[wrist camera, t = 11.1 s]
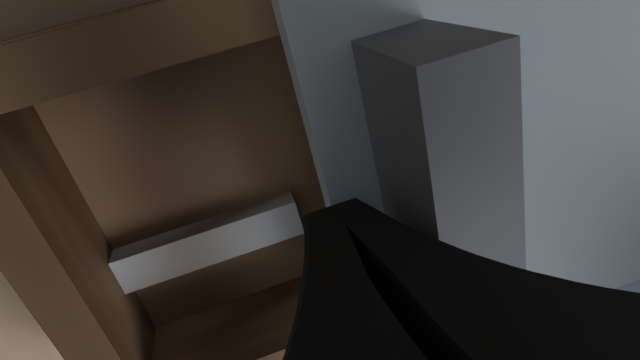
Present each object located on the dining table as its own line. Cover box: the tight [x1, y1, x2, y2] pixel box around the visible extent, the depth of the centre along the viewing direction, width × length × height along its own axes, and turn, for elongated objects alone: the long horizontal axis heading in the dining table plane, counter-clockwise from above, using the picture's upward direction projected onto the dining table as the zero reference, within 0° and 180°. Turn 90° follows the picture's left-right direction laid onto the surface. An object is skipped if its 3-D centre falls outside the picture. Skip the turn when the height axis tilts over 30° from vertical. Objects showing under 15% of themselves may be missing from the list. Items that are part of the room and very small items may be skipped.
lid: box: [271, 0, 640, 289], centre depth 10 cm, size 9×11×4 cm
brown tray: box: [0, 0, 326, 360], centre depth 13 cm, size 16×11×4 cm
